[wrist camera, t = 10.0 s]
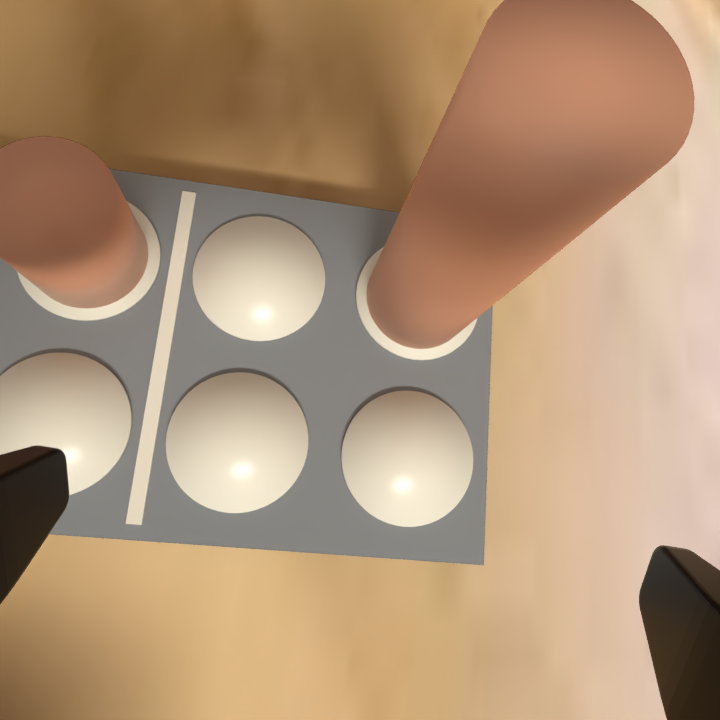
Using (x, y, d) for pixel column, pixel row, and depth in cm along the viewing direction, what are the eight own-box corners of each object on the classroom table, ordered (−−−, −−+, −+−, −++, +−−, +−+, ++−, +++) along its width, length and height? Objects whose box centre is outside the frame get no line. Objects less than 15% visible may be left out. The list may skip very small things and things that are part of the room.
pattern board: (469, 559, 21) (537, 587, 16) (-240, 508, 18) (-463, 520, 13) (481, 242, 24) (543, 171, 19) (-129, 152, 21) (-272, 36, 16)
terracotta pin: (478, 341, 21) (721, 172, 10) (376, 355, 21) (506, 193, 9) (457, 243, 22) (659, -23, 10) (358, 254, 21) (455, -18, 10)
